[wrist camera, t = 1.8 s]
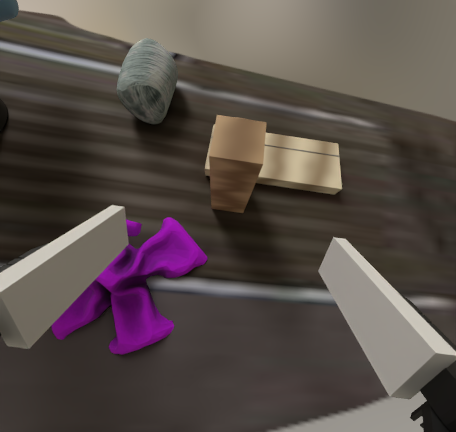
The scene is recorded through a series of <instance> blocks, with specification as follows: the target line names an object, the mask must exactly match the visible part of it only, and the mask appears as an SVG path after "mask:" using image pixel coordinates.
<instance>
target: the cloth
mask: <svg viewBox="0 0 456 432" xmlns="http://www.w3.org/2000/svg"><path fill="white" fill-rule="evenodd" d="M126 225H127V234H128V236H137V235H138V234H139V233H140V230H141V225H142V224H140V223H136V222H132V221H129V220H126ZM128 243H129V242H128ZM206 261H207V256H206V255H205V254H204V252H203V251H202V250H201V249H200V248H199V246H198V245H197V244H196V243H195V241H194V240H193V239H192V238H191V237H190V236H189V234H188V233H187V232H186V231H185V230H184V228H183V227H182V226H181V225H180V224H179V223H178V222H177V221H176V220H174V219H172V218H166V219H164V221H163V224H162V228H161V229H160V231H159V232H158V233H157V234H156V235H154V236H153V237H151V238H150V239H148V240H147V241H146V242H145V243H144V244H143V245H142V246H141V248H139V249H135V248H134V247H132V246H131V245H130V244H128V245H127V246H126V247H125V248H124V250H123V251H122V252H121V253H120V254H119V255H118V256H117V257H116V258H115V259H114V260H113V261H112V262H111V263H110V264H109V265H108V266H107V267H106V268H105V270H104V271H103V272H102V273H101V274H100V275H99V276H98V277H97V278H96V279H95V280H94V281H93V282H92V283H91V284H90V285H89V286H88V287H87V288H86V290H85V291H84V292H83V293H82V294H81V295H80V296H79V297H78V298H77V299H76V300H75V301H74V302H73V303H72V304H71V305H70V306H69V307H68V309H67V310H66V311H65V312H64V313H63V314H62V315H61V316H60V317H59V318H58V319H57V320H56V321H55V322H54V323H53V324H52V325H51V326H52V332H53V333H54V335H55V336H56V338H57V339H62V340H63V339H64V338H65V337H66V336H67V335H68V334H70V333H71V332H73V331H74V330H76V329H78V328H80V327H82V326H84V325H86V324H88V323H90V322H92V321H93V320H95V319H97V318H98V317H99V316H100V315H101V314H102V313H103V312H104V311H105V310H106V309H107V308H108V307H109V306H110V305H112V312H113V316H114V322H115V329H116V334H117V336H116V337H115V338H114V339H113V340H112V341H111V342H110V345H109V349H110V351H111V352H112V353H114V354H122V355H123V354H126V353H129V352H132V351H136V350H139V349H141V348H143V347H144V346H148V345H151V344H153V343H155V342H157V341H159V340H161V339H163V338H165V337H166V336H167V335H169V334H170V333H171V331H172V330H173V328H174V324H173V321H169V320H168V319H166V318H164V317H163V316H162V315H161V314H160V313H159V311H158V310H157V308H156V306H155V304H154V302H153V299H152V296H151V294H150V291H149V288H148V286H147V283H146V279H147V278H148V277H150V276H154V275H161V276H164V277H165V278H176V277H179V276H182V275H185V274H186V273H188V272H189V271H190V270H192V269H193V268H195V267H198V266H200V265H203V264H204V263H205V262H206Z"/></svg>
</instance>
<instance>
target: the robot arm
mask: <svg viewBox="0 0 456 432" xmlns="http://www.w3.org/2000/svg"><path fill="white" fill-rule="evenodd" d="M18 10H19V9H18V3H17V1H16V0H0V22H1V21H4V20H8V19H12V18H14V17H16V16H17V14H18ZM6 120H7V108H6V106H5V104H4V102H3V101H2V100H1V99H0V131H1V130H2V129H3V127H4V125H5V123H6ZM128 244H129V243H128V234H127V225H126V216H125V207H121V206H114V205H112V206H110V207H108V208H107V209H105V210H103V211H102V212H100V213H98V214H97V215H95V216H93V217H92V218H90V219H88V220H87V221H85V222H83V223H82V224H80V225H79V226H77V227H75V228H74V229H72V230H70V231H69V232H67V233H65V234H64V235H62V236H60V237H59V238H57V239H55V240H54V241H52V242H50V243H49V244H48V243H47V244H44V245H42V246H39V247H36V248H34V249H31V250H29V251H28V252H26V253H24V254H23V255H21V256H19V257H18V259H14V260H12V261H11V262H9V263H7V265H6V266H5V265H4V266H2V267H0V336H1V337H2V338H3V340H4V342H5V343H6V345H7V346H10V347H18V348H26V349H30V347H31V346H32V345H33V344H34V343H35V342H36V341H37V340H38V339H39V338H40V337H41V336H42V335H43V334H44V333H45V332H46V331H47V330H48V329H49V327H50V326H51V325H52V324H53V323H54V322H55V321H56V320H57V319H58V318H59V317H60V316H61V315H62V314H63V313H64V312H65V311H66V310H67V309H68V307H69V306H70V305H71V304H72V303H73V302H74V301H75V300H76V299H77V298H78V297H79V296H80V295H81V294H82V293H83V292H84V291H85V290H86V288H87V287H88V286H89V285H90V284H91V283H92V282H93V281H94V280H95V279H96V278H97V277H98V276H99V275H100V274H101V273H102V272H103V271H104V270H105V268H106V267H107V266H108V265H109V264H110V263H111V262H112V261H113V260H114V259H115V258H116V257H117V256H118V255H119V254H120V253H121V252H122V251H123V250H124V248H125V247H126V246H127V245H128ZM319 273H320V275H321V277H322V278H323V280H324V282H325V284H326V286H327V287H328V289H329V291H330V293H331V294H332V296H333V298H334V300H335V301H336V303H337V305H338V307H339V308H340V310H341V312H342V314H343V315H344V317H345V319H346V321H347V322H348V324H349V326H350V328H351V330H352V331H353V333H354V335H355V337H356V338H357V340H358V342H359V344H360V345H361V347H362V349H363V351H364V352H365V354H366V356H367V358H368V359H369V361H370V363H371V365H372V366H373V368H374V370H375V372H376V373H377V375H378V377H379V379H380V381H381V382H382V384H383V386H384V388H385V389H386V391H387V393H388V395H389V396H390V397H396V398H404V399H411V398H412V397H413V396H414V395H416V394H417V393H418V392H419V391H421V393H422V394H423V395H424V397H425V398H426V400H427V401H426V402H425V403H424V404H422V405H421V406H420V407H419V408H418V409H416V410H415V411H414V412H412V414H411V417H410V418H411V419H412V420H413V421H415V420H416V419H418V418H419V417H420V416H423V423H422V424H420V426H421V427H422V428H424V432H456V346H455V345H454V344H453V343H452V342H451V341H450V340H449V339H448V338H447V337H446V336H445V335H444V334H443V333H442V332H441V331H440V330H439V329H438V328H437V327H436V326H435V325H434V324H432V323H431V321H430V320H429V319H428V318H427V317H426V316H425V315H423V314H422V312H421V311H420V310H419V309H418V308H417V307H416V306H415V305H414V304H413V303H412V302H411V301H410V300H408V299H407V298H405V297H404V296H403V295H401V294H400V293H398V292H397V291H396V290H395V289H394V288H393V287H392V286H391V285H390V284H389V283H388V282H387V281H386V280H385V279H384V278H383V277H382V276H381V275H380V274H379V273H378V272H377V271H376V270H375V269H374V268H373V267H372V266H371V265H370V264H369V263H368V262H367V261H366V260H365V259H364V258H363V257H362V255H361V254H360V253H359V252H358V251H357V250H356V249H355V248H354V247H353V246H352V245H351V244H350V243H349V242H348V241H347V240H346V239H341V238H334V237H333V240H332V242H331V244H330V246H329V248H328V251H327V253H326V255H325V257H324V260H323V262H322V264H321V266H320V268H319Z"/></svg>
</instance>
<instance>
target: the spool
mask: <svg viewBox="0 0 456 432" xmlns="http://www.w3.org/2000/svg"><path fill="white" fill-rule="evenodd" d="M177 78H178V71H177V66H176V64H175V62H174V60H173V58H172V56H171V55H170V53H169V52H168V51H167V50H166V49H165V48H164V47H163V46H162V45H161V44H159V43H158V42H156V41H154V40H151V39H148V38H146V39H143V40H140V41H138V42H137V43H136V44H135V45H134V46H133V47H132V48H131V49H130V51H129V53H128V54H127V56H126V58H125V60H124V62H123V65H122V68H121V71H120V74H119V79H118V84H117V94H118V97H119V99H120V101H121V102H122V104H123V105H124V106H125V107H126V108H127V109H128V110H129V111H130V112H131V113H132V114H133V115H134V116H136V117H137V118H138V119H140V120H142V121H143V122H146V123H149V124H159V123H161V122H162V120H163V119H164V118H165V116H166V114H167V111H168V108H169V105H170V102H171V99H172V97H173V93H174V91H175V87H176V83H177Z"/></svg>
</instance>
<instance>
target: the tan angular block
mask: <svg viewBox="0 0 456 432" xmlns="http://www.w3.org/2000/svg"><path fill="white" fill-rule="evenodd" d="M265 135H266V122H260V121H254V120H247V119H244V118H238V117H236V118H234V117H228V116H221V115H217V118H216V123H215V128H214V133H213V138H212V144H211V149H210V154H209V166H210V186H211V206H212V209H217V210H224V211H231V212H238V213H243V212H244V210H245V207H246V205H247V203H248V200H249V198H250V195H251V193H252V190H253V188H254V185H255V183H256V181H257V178H258V176H259V173H260V171H261V168H262V166H263V161H264V148H265Z"/></svg>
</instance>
